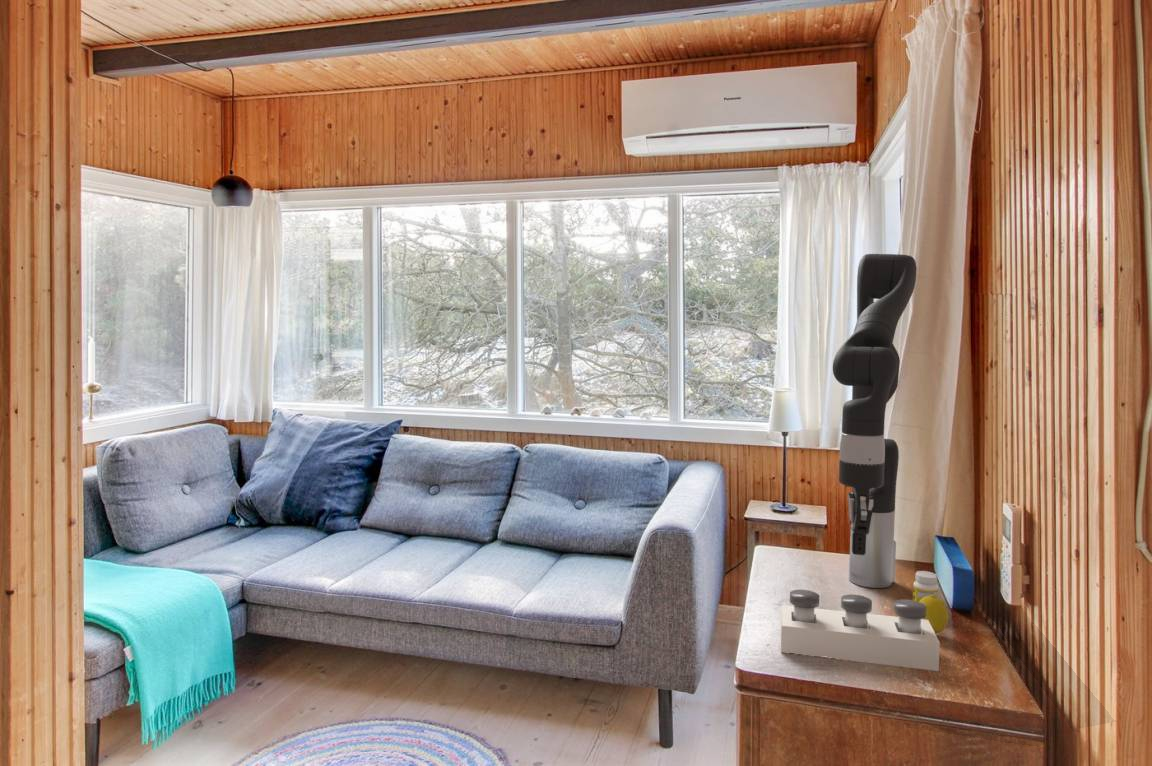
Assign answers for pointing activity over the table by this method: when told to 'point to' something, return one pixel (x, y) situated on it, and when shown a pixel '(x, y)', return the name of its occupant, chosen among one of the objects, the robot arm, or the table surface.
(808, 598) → the knob
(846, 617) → the knob middle
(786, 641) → the knob panel
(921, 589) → the supplement bottle
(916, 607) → the knob
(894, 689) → the table surface
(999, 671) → the table surface
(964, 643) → the table surface
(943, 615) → the lemon
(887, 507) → the robot arm
